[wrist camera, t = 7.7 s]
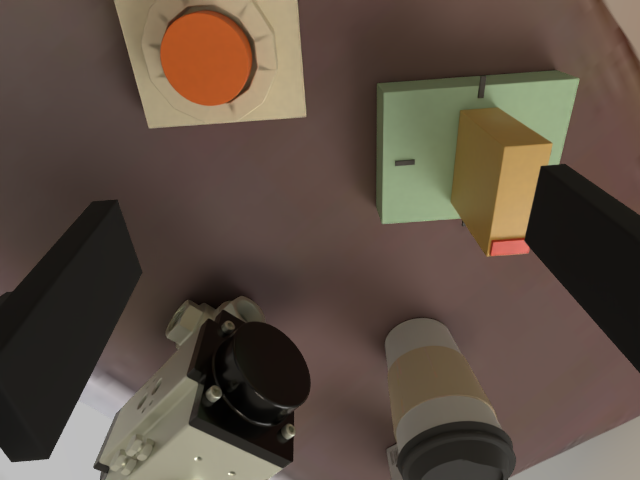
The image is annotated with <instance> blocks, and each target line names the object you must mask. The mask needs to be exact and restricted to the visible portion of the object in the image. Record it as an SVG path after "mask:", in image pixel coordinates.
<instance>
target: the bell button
mask: <svg viewBox="0 0 640 480" xmlns="http://www.w3.org/2000/svg"><path fill="white" fill-rule="evenodd" d="M160 59H161V65H162V68H163V71H164V74H165V76H166V78H167V80H168V81H169V83H170V84H171V86H172V87H173V88H174V89H175V90H176V91H177V92H178V93H179V94H180V95H181V96H183V97H184V98H186V99H187V100H189V101H191V102H193V103H196V104H199V105H204V106H216V105H221V104H224V103H226V102H229V101H230V100H232V99H233V98H234V97H236V96H237V95H238V94H239V92H240V91H241V90H242V88H243V87H244V85H245V83H246V81H247V79H248V77H249V75H250V72H251V67H252V53H251V48H250V44H249V42H248V39H247V37H246V35H245V34H244V32H243V31H242V29H241V28H240V27H239V26H238V25H237V24H236V23H235V22H234V21H233V20H232V19H230V18H229V17H227V16H225V15H223V14H221V13H218V12H215V11H209V10H202V11H196V12H193V13H189V14H186V15H183V16H181V17H179V18H178V19H176V20H175V21H174V22H173V23H172V24H171V25H170V26H169V27H168V29H167V30H166V32H165V34H164V36H163V39H162V42H161V47H160Z"/></svg>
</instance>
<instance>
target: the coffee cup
mask: <svg viewBox="0 0 640 480" xmlns="http://www.w3.org/2000/svg"><path fill="white" fill-rule="evenodd" d="M385 351H386V359H387V367H388V387H389V395H390V404H391V412H392V420H393V429H394V437H395V440H396V442H397V446H398V453H399V455H398V458H397V467H398V470H399V472H400V474H401V475H402V479H403V480H508V478H509V477H510V475H511V474H512V472H513V470H514V468H515V464H516V457H515V454H514V451H513V445H512V441H511V439H510V437H509V436H508V435H507V434H506V433H505V432H504V431H503V430H502V428H501V426H500V424H499V422H498V421H497V415H496V413H495V411H494V409H493V407H492V405H491V403H490V402H489V400H488V398H487V396H486V395H485V393H484V391H483V389H482V387H481V386H480V384H479V382H478V380H477V378H476V377H475V375H474V373H473V371H472V369H471V368H470V366H469V364H468V362H467V360H466V359H465V357H464V356H463V355H462V354H461V352H460V350H459V348H458V347H457V345H456V343H455V341H454V339H453V337H452V336H451V334H450V332H449V330H448V329H447V327H446V326H445V325H443V324H442V323H440V322H438V321H436V320H433V319H428V318H416V319H411V320H408V321H405V322H403V323H401V324H399V325H397V326H396V327H395V328H393V329H392V330H391V331H390V333H389V334H388V336H387V338H386V340H385Z"/></svg>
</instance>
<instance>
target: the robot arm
mask: <svg viewBox="0 0 640 480" xmlns="http://www.w3.org/2000/svg"><path fill="white" fill-rule="evenodd" d="M524 241H525V243H526V244H527V245H528V246H529V247H530V248H531V249H532V251H533V252H534V253H535V254H536V255H537V256H538V257H539V259H540V260H541V261H542V262H543V263H544V264H545V265H546V267H547V268H548V269H549V270H550V271H551V272H552V273H553V275H554V276H555V277H556V278H557V279H558V280H559V281H560V283H561V284H562V285H563V286H564V287H565V288H566V289H567V290H568V292H569V293H570V294H571V295H572V296H573V297H574V298H575V300H576V301H577V302H578V303H579V304H580V305H581V306H582V308H583V309H584V310H585V311H586V312H587V313H588V314H589V316H590V317H591V318H592V319H593V320H594V321H595V322H596V324H597V325H598V326H599V327H600V328H601V329H602V330H603V332H604V333H605V334H606V335H607V336H608V337H609V338H610V340H611V341H612V342H613V343H614V344H615V345H616V346H617V347H618V349H619V350H620V351H621V352H622V353H623V354H624V355H625V357H626V358H627V359H628V360H629V361H630V362H631V363H632V365H633V366H634V367H635V368H636V369H637V370H638V371H639V373H640V215H638V214H637V213H636V212H634V211H633V210H631V209H630V208H628V207H627V206H625V205H624V204H623V203H621V202H620V201H618V200H617V199H615V198H614V197H612V196H611V195H609V194H608V193H607V192H605V191H604V190H602V189H601V188H599V187H598V186H596V185H595V184H593V183H592V182H591V181H589V180H588V179H586V178H585V177H583V176H582V175H580V174H579V173H577V172H576V171H575V170H573V169H572V168H570V167H569V166H567V165H566V164H559V165H546V166H541V167H540V172H539V176H538V181H537V185H536V190H535V194H534V199H533V203H532V208H531V212H530V217H529V221H528V226H527V230H526V234H525V239H524ZM141 274H142V270H141V267H140V264H139V261H138V258H137V255H136V252H135V249H134V246H133V244H132V241H131V238H130V235H129V232H128V229H127V226H126V223H125V220H124V217H123V214H122V212H121V209H120V206H119V203H118V200H105V201H93V202H91V204H90V205H89V206H88V207H87V208H86V209H85V210H84V211H83V213H82V214H81V215H80V216H79V217H78V218H77V219H76V221H75V222H74V223H73V224H72V225H71V226H70V227H69V228H68V230H67V231H66V232H65V233H64V234H63V235H62V236H61V238H60V239H59V240H58V241H57V242H56V243H55V244H54V245H53V247H52V248H51V249H50V250H49V251H48V252H47V253H46V255H45V256H44V257H43V258H42V259H41V260H40V261H39V262H38V264H37V265H36V266H35V267H34V268H33V269H32V270H31V272H30V273H29V274H28V275H27V276H26V277H25V278H24V279H23V281H22V282H21V283H20V284H19V285H18V286H17V287H16V289H15V290H14V291H13V292H6V293H5V294H3V295H2V296H0V448H1V449H2V450H3V452H4V453H5V454H6V455H7V457H8V458H9V459H10V461H11V462H19V461H31V460H42V459H49V457H50V455H51V453H52V451H53V449H54V447H55V445H56V443H57V441H58V439H59V437H60V435H61V433H62V431H63V429H64V427H65V425H66V423H67V421H68V419H69V417H70V415H71V413H72V411H73V409H74V407H75V405H76V403H77V401H78V400H79V398H80V396H81V394H82V392H83V390H84V388H85V386H86V384H87V382H88V380H89V378H90V376H91V374H92V372H93V370H94V368H95V366H96V364H97V362H98V360H99V358H100V356H101V354H102V352H103V350H104V348H105V346H106V344H107V342H108V340H109V338H110V336H111V334H112V332H113V330H114V328H115V326H116V324H117V322H118V320H119V318H120V316H121V314H122V312H123V310H124V308H125V306H126V304H127V302H128V300H129V298H130V296H131V294H132V292H133V290H134V288H135V286H136V284H137V282H138V280H139V278H140V276H141Z"/></svg>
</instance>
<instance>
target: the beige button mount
mask: <svg viewBox="0 0 640 480" xmlns="http://www.w3.org/2000/svg"><path fill="white" fill-rule="evenodd" d="M114 3H115V6H116V10H117V14H118V17H119V21H120V25H121V28H122V32H123V36H124V39H125V43H126V47H127V50H128V54H129V58H130V61H131V65H132V69H133V72H134V76H135V80H136V83H137V87H138V91H139V94H140V98H141V102H142V105H143V109H144V113H145V116H146V120H147V124H148V127H149V128H162V127H175V126H189V125H203V124H217V123H230V122H244V121H258V120H272V119H285V118H299V117H306V101H305V88H304V76H303V63H302V50H301V38H300V25H299V12H298V0H114ZM202 10H209V11H215V12H218V13H221V14H223V15H225V16H227V17H229V18H230V19H232V20H233V21H234V22H235V23H236V24H237V25H238V26H239V27H240V28H241V29H242V31H243V32H244V34H245V35H246V37H247V39H248V42H249V44H250V48H251V53H252V67H251V72H250V75H249V77H248V79H247V81H246V83H245V85H244V87H243V88H242V90H241V91H240V92H239V94H238V95H237V96H236V97H234V98H233V99H232V100H230V101H229V102H226V103H224V104H221V105H216V106H204V105H199V104H196V103H193V102H191V101H189V100H187V99H186V98H184V97H183V96H181V95H180V94H179V93H178V92H177V91H176V90H175V89H174V88H173V87H172V86H171V84H170V83H169V81H168V80H167V78H166V76H165V74H164V71H163V68H162V65H161V59H160V47H161V42H162V39H163V36H164V34H165V32H166V30H167V29H168V27H169V26H170V25H171V24H172V23H173V22H174V21H175V20H176V19H178V18H179V17H181V16H183V15H186V14H189V13H193V12H196V11H202Z"/></svg>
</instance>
